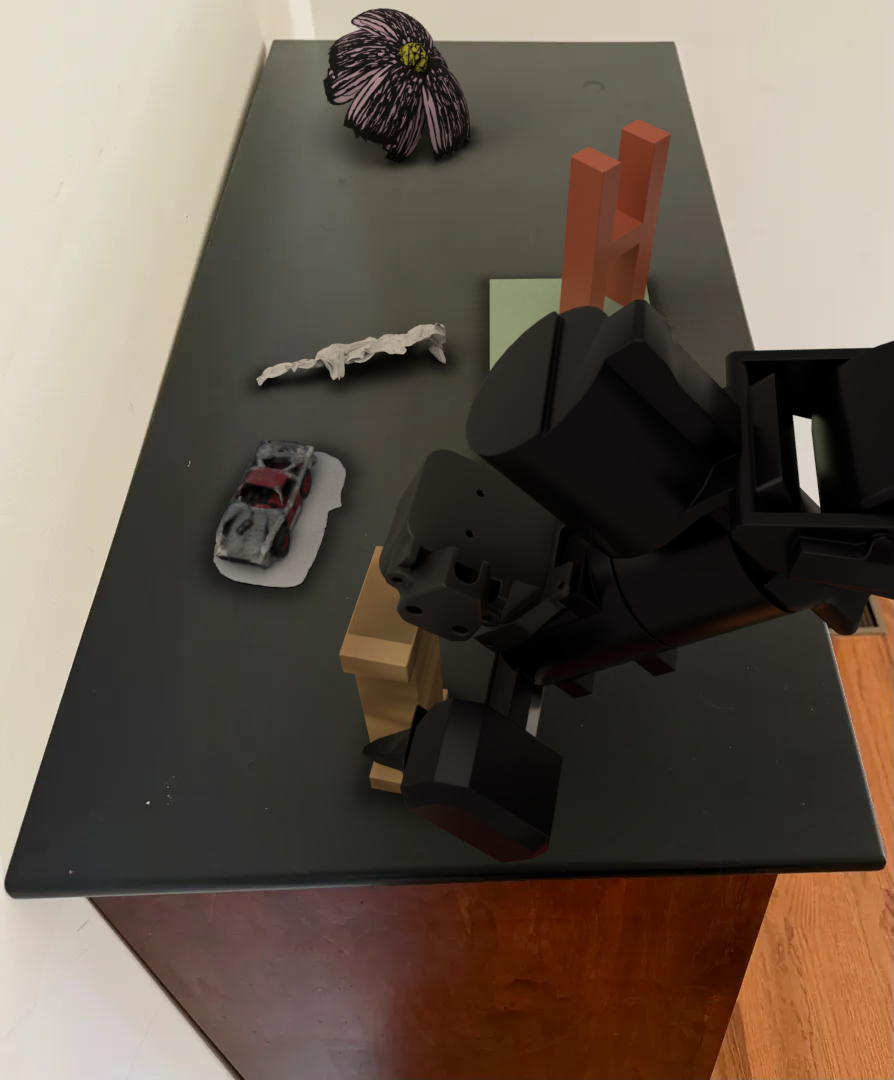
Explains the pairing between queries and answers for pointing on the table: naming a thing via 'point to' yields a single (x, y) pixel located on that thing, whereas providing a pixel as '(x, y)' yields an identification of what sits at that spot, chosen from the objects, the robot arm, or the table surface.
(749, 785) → the table surface
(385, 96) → the decorative flower
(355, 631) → the letter I
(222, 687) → the table surface
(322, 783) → the table surface
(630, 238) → the letter H
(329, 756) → the table surface
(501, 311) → the word mat
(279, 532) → the toy car
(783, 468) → the robot arm
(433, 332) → the paper
